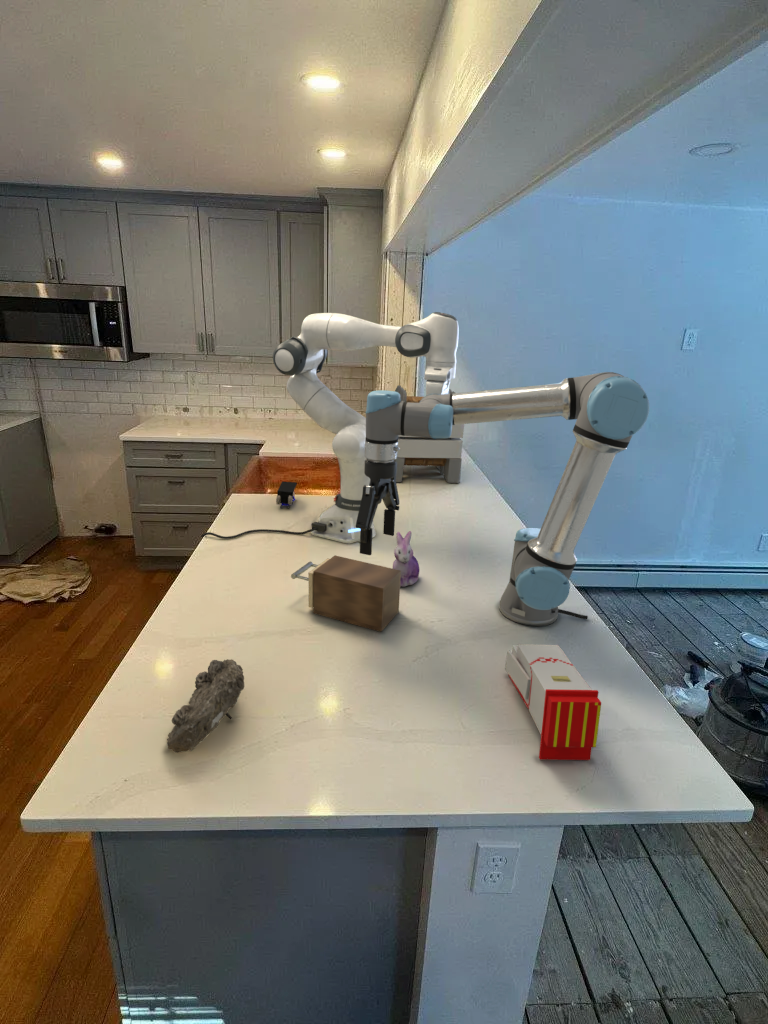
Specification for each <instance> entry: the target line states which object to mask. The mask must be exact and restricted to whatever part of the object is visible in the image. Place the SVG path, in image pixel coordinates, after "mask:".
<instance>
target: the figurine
mask: <svg viewBox="0 0 768 1024" xmlns="http://www.w3.org/2000/svg"><path fill="white" fill-rule="evenodd" d="M412 535H413V532H412V531H411V530H409V531H408V532H407V533H406V534H405V536H404V537H403V536H402V533H401V532H400V531H397V532H396V546H395V548H394V551H393V554H394V558H395V559H394V560H393V562H392V569H396V570H401V580H400V587H403V588H404V587H407V586H412V585H414V584H416V583H417V582H418V580H419V575H420V565H419V561H418V559H417V558H416V556H414V549H413V547H412V545H411V540H412Z"/></svg>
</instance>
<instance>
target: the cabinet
mask: <svg viewBox="0 0 768 1024" xmlns="http://www.w3.org/2000/svg"><path fill="white" fill-rule="evenodd" d="M313 575H314V607H313V614H314V615H318V616H322V617H325V618H329V619H333V620H335V621H336V620H337V621H340V622H343V623H347V624H350V625H354V626H358V627H362V628H365V629H369V630H373V631H376V632H379V633H382V632H383V631H384V630H385V628H386V627H387V626H388V625H389V624H390V623H391V621H392V620H393V619H394V618H395V617H396V616H397V614H398V613H399V611H400V596H401V593H400V592H401V586H400V580H401V570H396V569H393V567H388V566H384V565H378V564H374V563H371V562H366V561H361V560H357V559H353V558H349V557H345V556H341V555H335V554H334V555H333V556H332V557H330V558H329V560H328V561H327V562H325V563H324V564H322V565H321V566H320V567H318V568H317V569H316V570H314V571H313Z"/></svg>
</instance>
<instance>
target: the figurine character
mask: <svg viewBox="0 0 768 1024" xmlns="http://www.w3.org/2000/svg"><path fill="white" fill-rule="evenodd" d="M297 484H298V482H296V481H295V482H294V481H284V480H283V481H281V483H280V485H279V487H278V489H277V494H276V498H275V499H276V500H275V503H276V505H279V508H280V509H283V506H285V507H287V509H290V508H291V506H292V505H293V503H294V502H295V501H296V497H295V496H296V492H295V489H296V488H297Z"/></svg>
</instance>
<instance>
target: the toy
mask: <svg viewBox="0 0 768 1024" xmlns="http://www.w3.org/2000/svg"><path fill="white" fill-rule="evenodd" d="M505 659H506V660H505V667H504V669H505V671H506V672H507V674H508V677H509V679H510V681H511V683H512V685H513V686H514V687H515V689H516V691H517V693H518V694H519V696H520V698H521V700H522V701H523V703H524V704H525V707H526V709H527V710H528V712H529V714H530V716H531V718H532V720H533V722H534V724H535V726H536V727H537V729H538V732H539V734H540V743H539V753H538V759H539V760H546V761H547V760H550V761H551V760H553V761H554V760H555V761H566V760H567V761H591V757H592V756H591V755H592V748H597V742H598V733H599V725H600V717H601V710H602V701H601V700H600V698H599V690H598V689H592V688H591V687H590V686H589V684H588V682H586V679H584V677H583V676H582V675H581V673H580V672H579V671H578V669H577V668H576V667H575V665H574V664H573V663H572V662H571V659H569V657H568V656H567V655H566V653H565V651H564V650H563V649H562V648H561V647H560V646H559V644H526V643H525V644H522V643H521V644H519V643H518V644H517V645H514V644H512V647H511V650H507V653H506V658H505Z"/></svg>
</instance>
